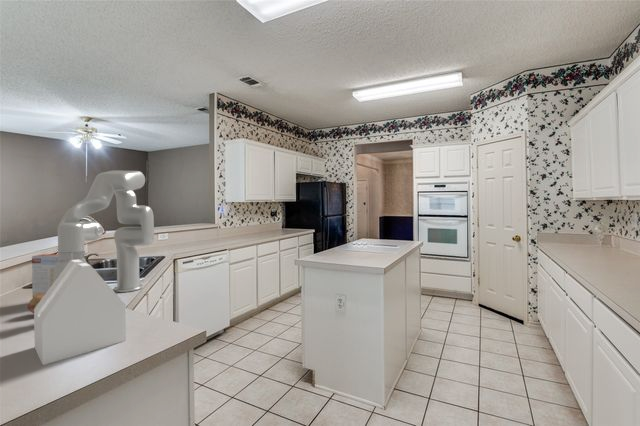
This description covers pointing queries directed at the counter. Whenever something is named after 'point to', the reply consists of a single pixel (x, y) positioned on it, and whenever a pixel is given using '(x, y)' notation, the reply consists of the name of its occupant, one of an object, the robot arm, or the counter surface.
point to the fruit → (35, 302)
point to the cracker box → (43, 272)
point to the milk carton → (77, 315)
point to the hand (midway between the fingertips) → (72, 305)
